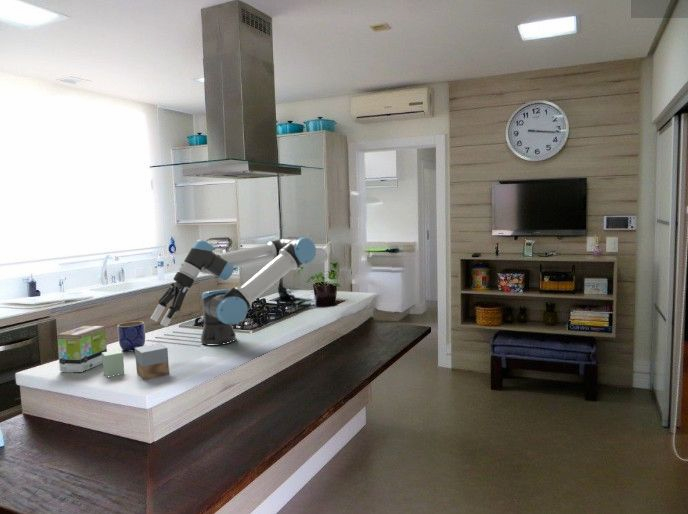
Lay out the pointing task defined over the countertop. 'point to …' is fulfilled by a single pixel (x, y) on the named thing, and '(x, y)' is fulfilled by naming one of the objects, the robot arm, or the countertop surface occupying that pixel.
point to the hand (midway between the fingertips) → (158, 322)
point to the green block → (113, 362)
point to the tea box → (81, 348)
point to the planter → (131, 335)
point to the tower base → (152, 370)
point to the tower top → (151, 354)
